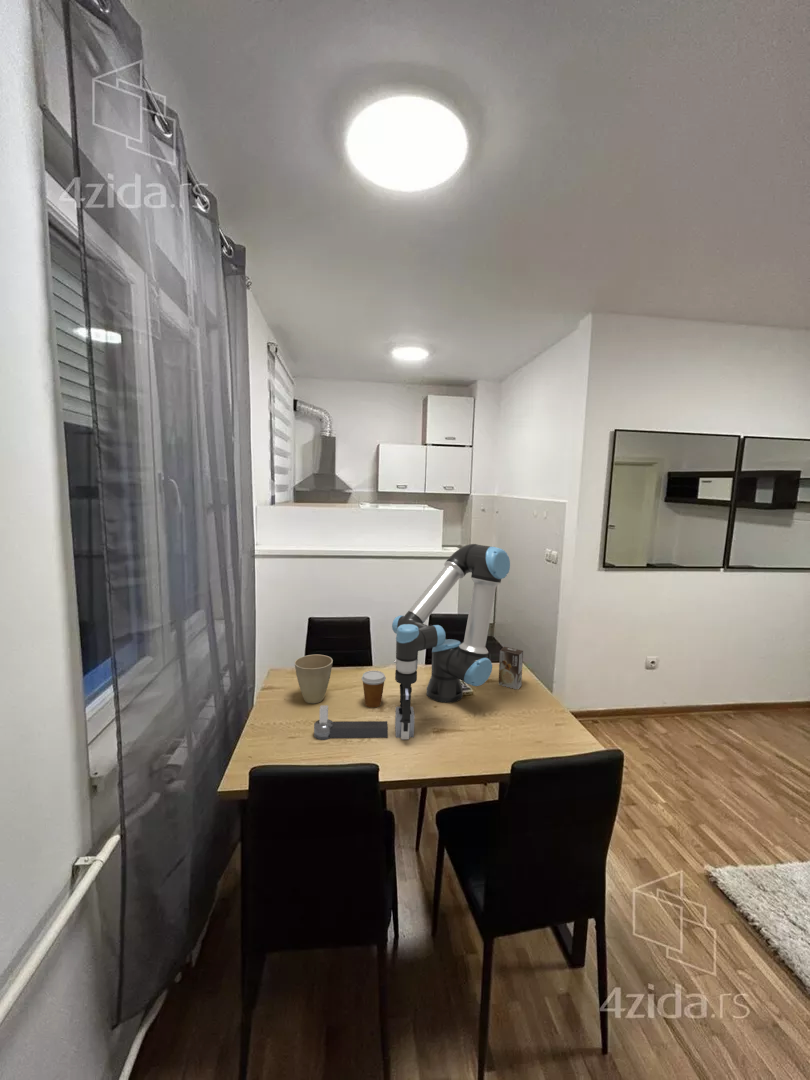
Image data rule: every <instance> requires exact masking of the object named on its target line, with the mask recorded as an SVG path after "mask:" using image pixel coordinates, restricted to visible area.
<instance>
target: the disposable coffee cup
mask: <svg viewBox="0 0 810 1080" xmlns="http://www.w3.org/2000/svg"><path fill="white" fill-rule="evenodd" d="M361 681H362V686H363V694H364V695H363V697H364V705H365V706H366V707H368V708H373V709H374V708H378V707H380V706H381V705H382V700H383V693H384V685H385V682H386V676H385V673H384V672H382V671H379V670H369V671H365V672H363V674H362V676H361Z"/></svg>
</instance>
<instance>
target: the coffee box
mask: <svg viewBox="0 0 810 1080" xmlns="http://www.w3.org/2000/svg"><path fill="white" fill-rule="evenodd" d="M523 661H524V650H522V649H518V648H513V647H508V646H503V647H502V648H501V649H500V650H499V664H498V683H497V684H499V685H498V686H501V685H502V686H501V687H505V686H506V687H505V688H509V687H510V689H512V688H513V689H514V690H516V689H518V690H519V689H520V688H521V687H522V683H523V682H522V681H523V665H524V664H523V663H524V662H523Z"/></svg>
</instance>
